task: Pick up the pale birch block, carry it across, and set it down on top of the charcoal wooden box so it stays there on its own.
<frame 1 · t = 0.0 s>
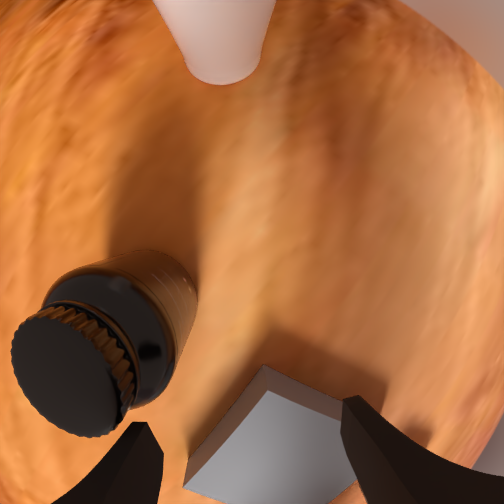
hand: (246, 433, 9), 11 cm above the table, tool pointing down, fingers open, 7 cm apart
charcoal box: (283, 442, 21), on the table
drinking glass: (223, 59, 18), on the table
supplement bottle: (151, 298, 20), on the table
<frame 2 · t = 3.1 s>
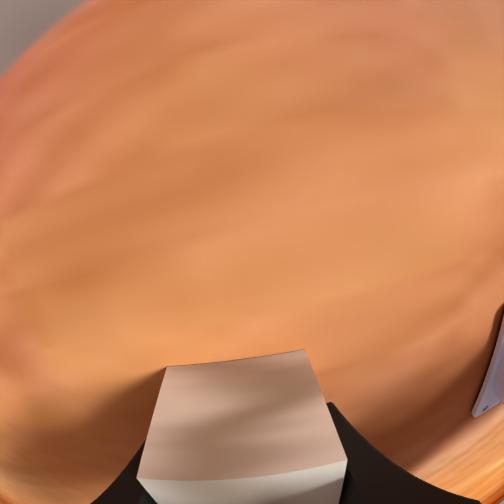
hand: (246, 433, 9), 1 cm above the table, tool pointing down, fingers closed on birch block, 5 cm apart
birch block: (245, 408, 11), on the table, touching gripper
when the fingers open (6 cm above the table, at t = 6.6 s): birch block drops 1 cm, resting on charcoal box.
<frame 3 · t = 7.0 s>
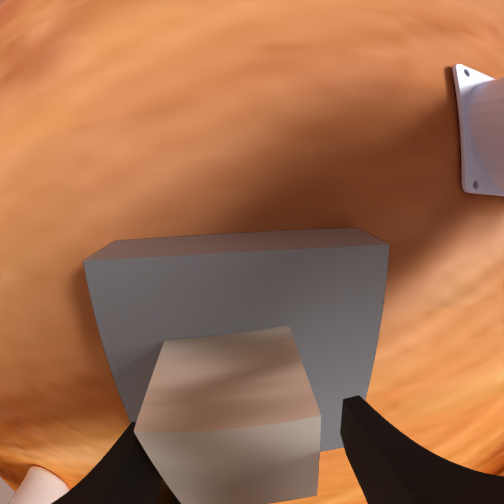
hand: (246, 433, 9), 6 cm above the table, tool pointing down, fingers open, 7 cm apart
charcoal box: (241, 339, 16), on the table, touching birch block
drinking glass: (51, 476, 20), on the table
birch block: (235, 382, 12), point 3 cm above the table, touching charcoal box
supplement bottle: (182, 481, 19), on the table
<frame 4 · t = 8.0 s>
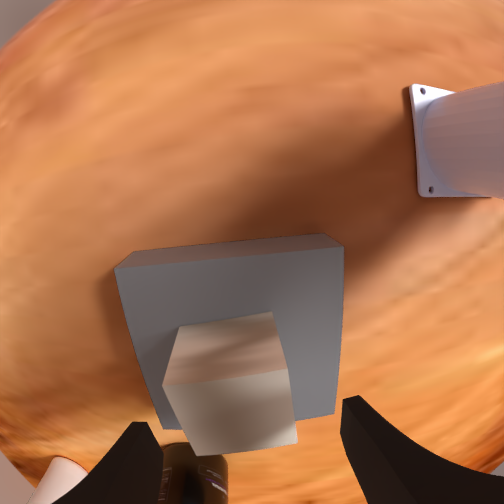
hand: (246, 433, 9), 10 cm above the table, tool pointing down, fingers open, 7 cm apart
charcoal box: (237, 326, 20), on the table
drinking glass: (72, 466, 24), on the table
birch block: (234, 357, 16), point 4 cm above the table
supplement bottle: (192, 458, 24), on the table
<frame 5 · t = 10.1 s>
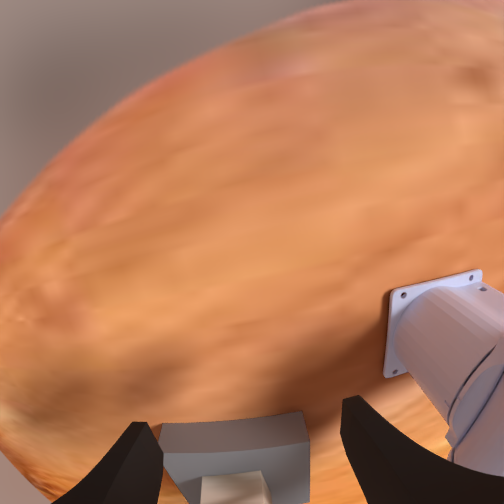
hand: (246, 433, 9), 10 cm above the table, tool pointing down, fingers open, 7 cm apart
charcoal box: (241, 454, 24), on the table
birch block: (238, 486, 20), point 4 cm above the table
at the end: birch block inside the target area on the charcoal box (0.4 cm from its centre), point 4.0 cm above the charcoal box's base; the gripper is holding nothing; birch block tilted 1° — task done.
